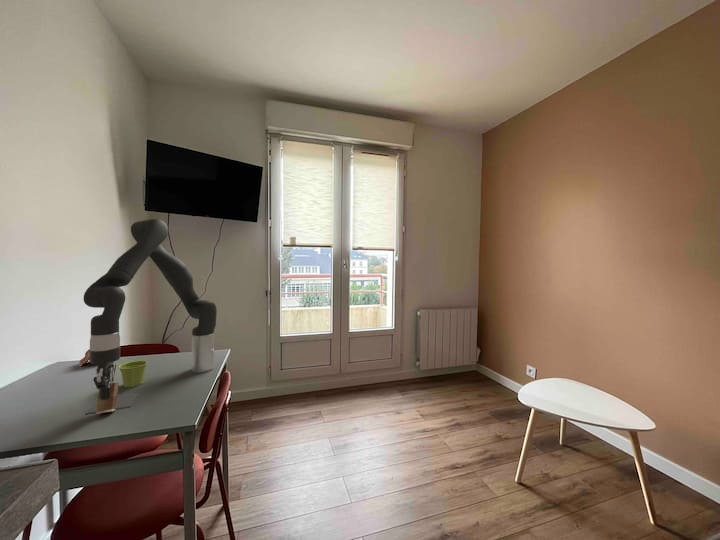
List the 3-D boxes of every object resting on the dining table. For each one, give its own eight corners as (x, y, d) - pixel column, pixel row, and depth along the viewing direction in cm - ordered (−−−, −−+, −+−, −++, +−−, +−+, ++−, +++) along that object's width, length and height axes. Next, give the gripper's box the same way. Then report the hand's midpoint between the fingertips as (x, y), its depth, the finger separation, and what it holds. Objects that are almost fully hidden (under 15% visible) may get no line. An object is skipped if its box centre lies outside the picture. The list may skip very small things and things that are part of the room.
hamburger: (116, 357, 152) (116, 338, 152) (124, 362, 145) (124, 342, 145) (75, 365, 140) (75, 345, 139) (80, 371, 132) (80, 350, 132)
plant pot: (116, 384, 118) (116, 364, 118) (144, 378, 125) (145, 358, 125) (120, 392, 112) (120, 370, 112) (149, 384, 119) (149, 364, 119)
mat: (139, 392, 111) (139, 391, 111) (130, 406, 101) (130, 405, 101) (99, 398, 106) (99, 397, 106) (85, 414, 95) (85, 413, 95)
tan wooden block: (115, 410, 98) (118, 382, 101) (111, 411, 94) (115, 382, 97) (100, 413, 96) (103, 384, 99) (95, 414, 93) (99, 384, 96)
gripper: (113, 350, 90) (113, 405, 90) (125, 340, 102) (125, 388, 102) (81, 354, 86) (82, 410, 87) (98, 342, 98) (98, 392, 99)
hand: (105, 398), depth 94 cm, fingers closed
